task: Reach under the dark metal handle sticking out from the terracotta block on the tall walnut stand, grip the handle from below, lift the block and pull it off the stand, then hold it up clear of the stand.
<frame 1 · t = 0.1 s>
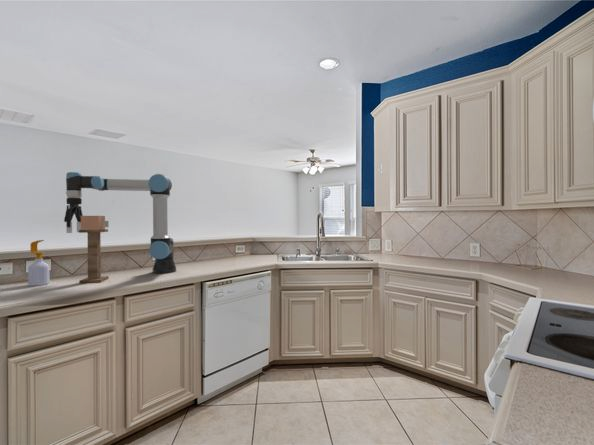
hand: (74, 232, 195), 28 cm above the worktop, tool pointing down, fingers open, 13 cm apart
soap bottle: (39, 284, 176), on the worktop
tall stand: (94, 280, 186), on the worktop
handled block: (94, 229, 186), point 30 cm above the worktop, touching tall stand
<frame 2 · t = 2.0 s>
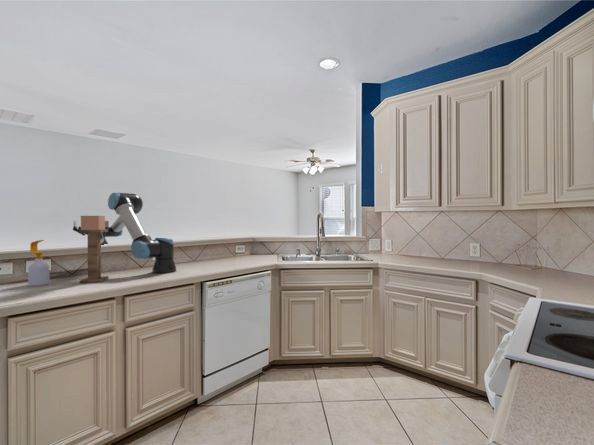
hand: (86, 222, 208), 34 cm above the worktop, tool pointing upward, fingers open, 13 cm apart
nothing on the worktop moved.
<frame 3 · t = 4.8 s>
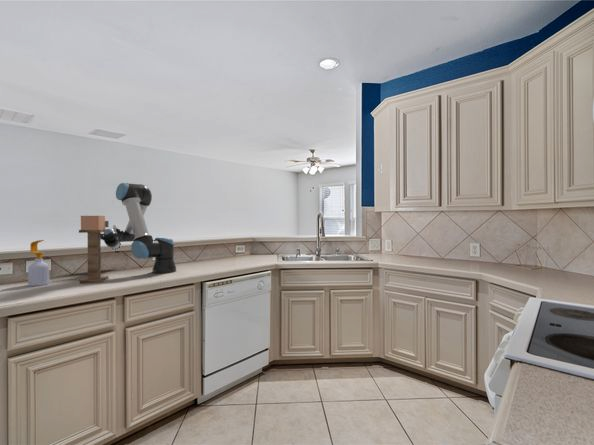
hand: (101, 226, 200), 31 cm above the worktop, tool pointing upward, fingers open, 13 cm apart
nothing on the worktop moved.
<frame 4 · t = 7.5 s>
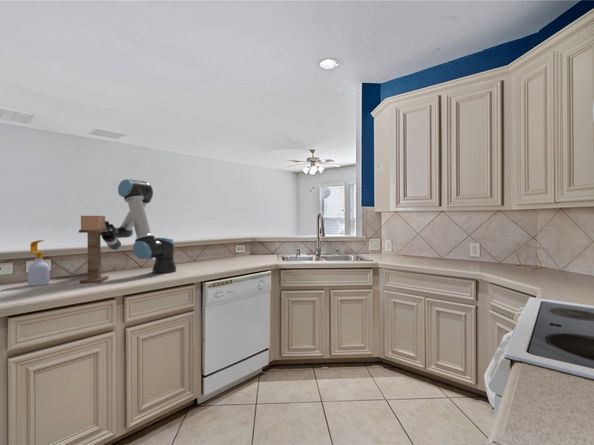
hand: (98, 219, 192), 36 cm above the worktop, tool pointing upward, fingers closed on handled block, 4 cm apart
handled block: (94, 229, 186), point 30 cm above the worktop, touching gripper, tall stand
everything else where it was.
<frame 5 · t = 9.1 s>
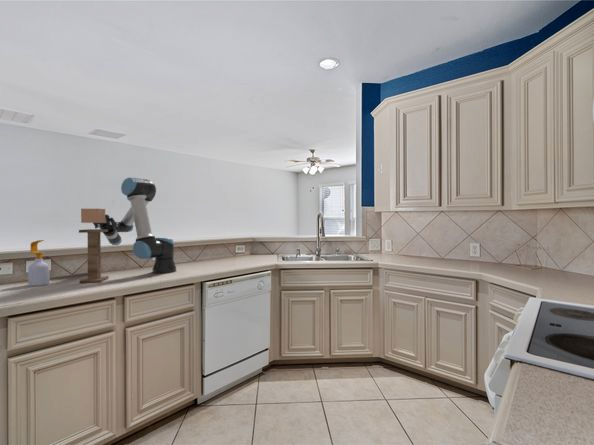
hand: (98, 213, 192), 40 cm above the worktop, tool pointing upward, fingers closed on handled block, 4 cm apart
handled block: (94, 222, 186), point 34 cm above the worktop, touching gripper
everything else where it was.
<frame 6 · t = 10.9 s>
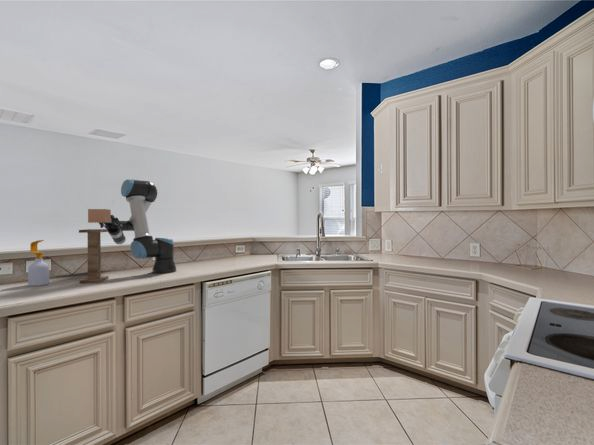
hand: (103, 213, 202), 40 cm above the worktop, tool pointing upward, fingers closed on handled block, 4 cm apart
handled block: (100, 222, 196), point 34 cm above the worktop, touching gripper
everything else where it was.
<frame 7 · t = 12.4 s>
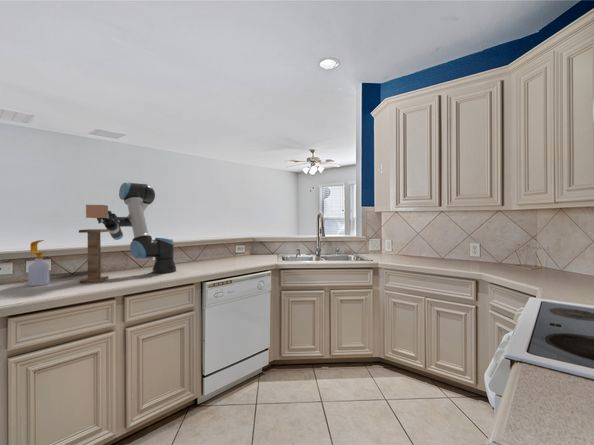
hand: (101, 209, 208), 43 cm above the worktop, tool pointing upward, fingers closed on handled block, 4 cm apart
handled block: (98, 217, 202), point 37 cm above the worktop, touching gripper
everything else where it was.
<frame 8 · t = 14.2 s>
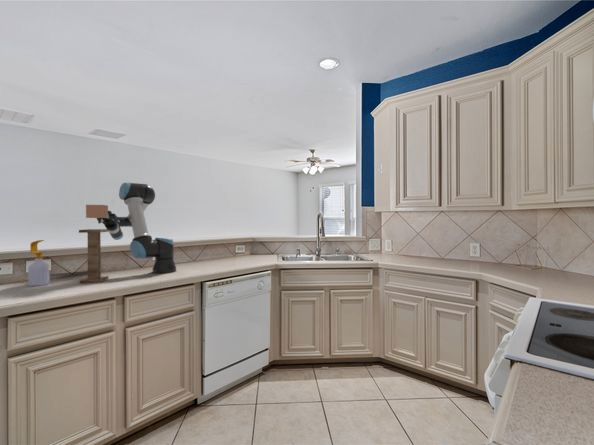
hand: (101, 209, 208), 43 cm above the worktop, tool pointing upward, fingers closed on handled block, 4 cm apart
handled block: (98, 217, 202), point 37 cm above the worktop, touching gripper
everything else where it was.
at the end: handled block touching gripper; the gripper is holding handled block; handled block moved 19.7 cm from its start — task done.
